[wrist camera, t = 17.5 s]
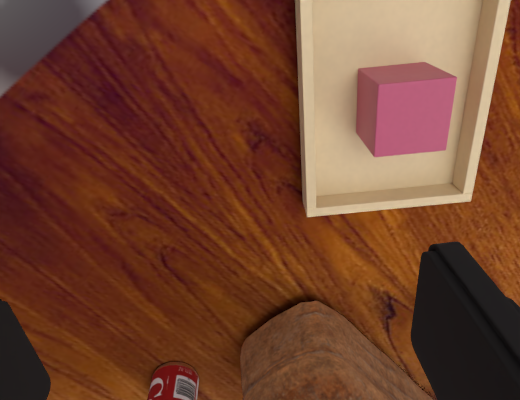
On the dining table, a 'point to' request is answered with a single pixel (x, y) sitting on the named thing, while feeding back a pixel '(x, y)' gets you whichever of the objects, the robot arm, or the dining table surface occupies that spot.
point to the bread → (319, 361)
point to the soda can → (174, 382)
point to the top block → (404, 108)
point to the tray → (383, 54)
